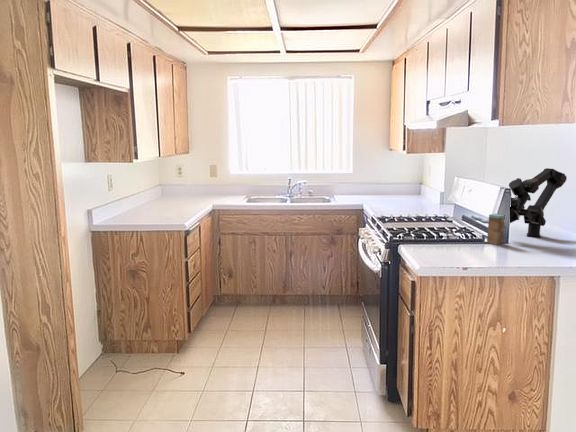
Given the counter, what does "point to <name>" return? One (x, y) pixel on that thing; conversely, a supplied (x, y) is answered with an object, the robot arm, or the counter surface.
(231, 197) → the counter surface
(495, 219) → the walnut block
